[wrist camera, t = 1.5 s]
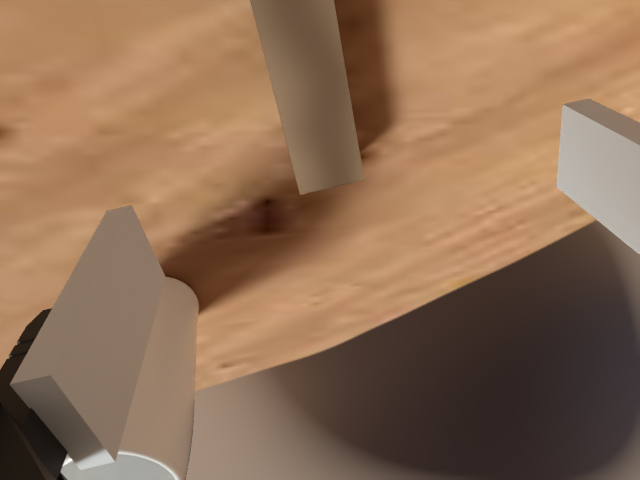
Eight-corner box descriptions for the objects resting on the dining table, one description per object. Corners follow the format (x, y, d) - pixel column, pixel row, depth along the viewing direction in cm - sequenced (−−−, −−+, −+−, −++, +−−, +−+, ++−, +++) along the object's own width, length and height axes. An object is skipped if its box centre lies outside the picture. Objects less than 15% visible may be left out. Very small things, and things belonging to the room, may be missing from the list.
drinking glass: (184, 345, 39) (150, 539, 26) (102, 313, 36) (20, 512, 24) (225, 287, 36) (209, 471, 24) (140, 249, 34) (71, 433, 21)
